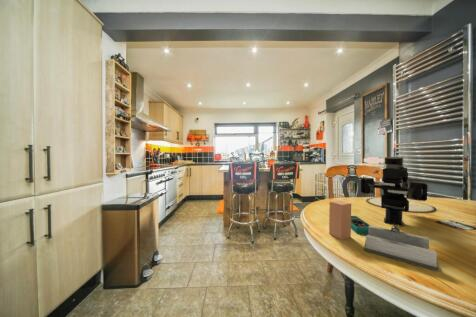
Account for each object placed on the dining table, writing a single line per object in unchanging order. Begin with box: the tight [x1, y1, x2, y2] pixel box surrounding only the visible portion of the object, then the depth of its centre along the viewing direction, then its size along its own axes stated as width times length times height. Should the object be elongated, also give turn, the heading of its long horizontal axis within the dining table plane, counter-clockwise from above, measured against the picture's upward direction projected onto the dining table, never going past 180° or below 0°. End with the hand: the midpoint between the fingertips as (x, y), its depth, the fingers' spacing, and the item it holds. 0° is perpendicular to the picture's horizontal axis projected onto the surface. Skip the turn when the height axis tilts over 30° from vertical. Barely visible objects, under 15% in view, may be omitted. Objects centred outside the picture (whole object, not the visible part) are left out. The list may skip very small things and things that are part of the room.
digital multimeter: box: [351, 215, 372, 236], centre depth 75 cm, size 7×15×3 cm, turn 173°
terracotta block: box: [328, 199, 352, 240], centre depth 67 cm, size 5×5×12 cm
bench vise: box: [363, 224, 440, 272], centre depth 59 cm, size 20×16×4 cm
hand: (389, 194), depth 62 cm, fingers open, 9 cm apart
